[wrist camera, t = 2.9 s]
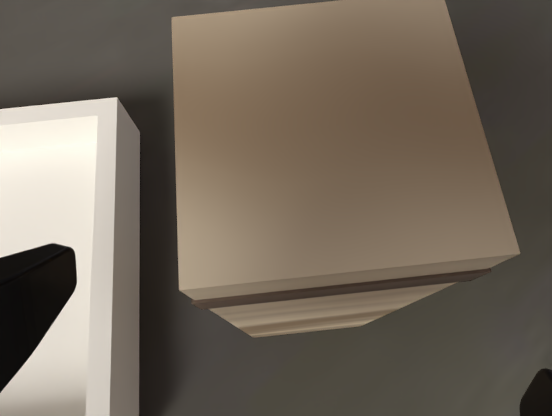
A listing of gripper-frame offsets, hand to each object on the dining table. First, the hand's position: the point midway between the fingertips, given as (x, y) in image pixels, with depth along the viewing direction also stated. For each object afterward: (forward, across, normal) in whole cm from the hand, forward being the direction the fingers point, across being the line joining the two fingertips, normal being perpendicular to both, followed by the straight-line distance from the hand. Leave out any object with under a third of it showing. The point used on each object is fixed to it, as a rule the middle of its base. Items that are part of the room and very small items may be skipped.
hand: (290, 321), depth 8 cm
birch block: (+9, 0, +5) cm, 10 cm away
